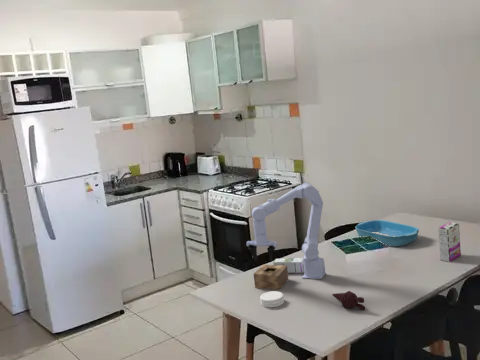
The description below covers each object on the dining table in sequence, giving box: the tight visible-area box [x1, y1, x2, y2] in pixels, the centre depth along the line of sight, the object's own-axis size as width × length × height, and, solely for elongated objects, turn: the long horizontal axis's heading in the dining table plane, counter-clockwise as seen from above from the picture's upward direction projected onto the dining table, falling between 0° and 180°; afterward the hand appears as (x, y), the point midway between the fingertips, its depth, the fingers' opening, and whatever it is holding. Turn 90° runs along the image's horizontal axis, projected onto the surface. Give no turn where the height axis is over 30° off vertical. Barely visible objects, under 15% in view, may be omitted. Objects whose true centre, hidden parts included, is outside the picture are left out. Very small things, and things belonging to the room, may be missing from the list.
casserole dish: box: [355, 219, 420, 247], centre depth 285 cm, size 37×22×7 cm, turn 33°
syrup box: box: [273, 257, 305, 274], centre depth 253 cm, size 6×6×14 cm
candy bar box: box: [438, 221, 462, 263], centre depth 245 cm, size 11×5×16 cm, turn 131°
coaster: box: [259, 290, 285, 308], centre depth 219 cm, size 10×10×4 cm
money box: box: [253, 264, 289, 290], centre depth 240 cm, size 12×12×7 cm
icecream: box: [332, 290, 367, 311], centre depth 206 cm, size 7×7×15 cm
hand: (263, 260), depth 241 cm, fingers open, 7 cm apart
